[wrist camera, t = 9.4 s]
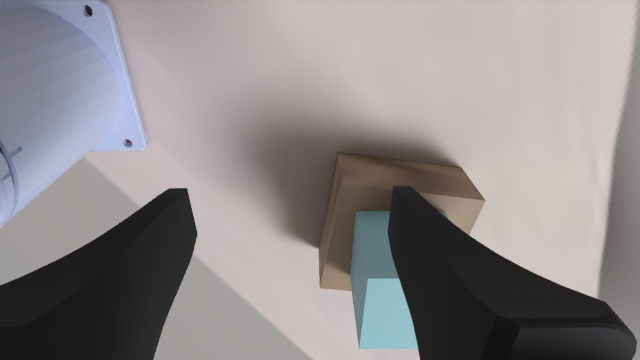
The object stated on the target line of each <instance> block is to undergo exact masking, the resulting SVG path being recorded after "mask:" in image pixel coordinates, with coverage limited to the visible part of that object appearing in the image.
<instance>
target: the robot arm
mask: <svg viewBox="0 0 640 360" xmlns="http://www.w3.org/2000/svg"><path fill="white" fill-rule="evenodd" d="M86 5H88V6H89V7H90V8H91V9H92V12H93V14H92V16H91V15H89V14H88V13H87V12H86V9H85V7H86ZM126 139H128V140H130V141H131V142H132V145H131V144H128V143H127V142H126ZM146 146H147V138H146V135H145V131H144V127H143V124H142V120H141V116H140V113H139V109H138V105H137V102H136V98H135V94H134V91H133V87H132V84H131V80H130V76H129V73H128V69H127V65H126V62H125V58H124V54H123V51H122V47H121V43H120V40H119V36H118V33H117V29H116V25H115V22H114V18H113V14H112V11H111V8H110V6H109V5H108V4H107V3H106V2H105V1H104V0H0V228H1V227H2V226H3V225H4V224H5V223H6V222H7V221H8V220H10V219H11V218H12V217H13V216H14V215H16V214H17V213H18V212H19V211H20V210H21V209H22V208H24V207H25V206H26V205H27V204H28V203H30V202H31V201H32V200H33V199H34V198H35V197H36V196H38V195H39V194H40V193H41V192H42V191H43V190H45V189H46V188H47V187H48V186H49V185H50V184H52V183H53V182H54V181H55V180H56V179H57V178H59V177H60V176H61V175H62V174H63V173H64V172H66V171H67V170H68V169H69V168H70V167H71V166H73V165H74V164H75V163H76V162H77V161H78V160H80V159H81V158H82V157H83V156H84V155H85V154H87V153H88V152H89V151H140V150H143V149H144V148H145V147H146ZM196 238H197V230H196V226H195V221H194V217H193V212H192V208H191V204H190V199H189V195H188V191H187V188H170V189H168V190H166V191H165V192H163V193H162V194H160V195H159V196H157V197H156V198H154V199H153V200H152V201H150V202H149V203H148V204H146V205H145V206H143V207H142V208H141V209H139V210H138V211H136V212H135V213H134V214H132V215H131V216H130V217H128V218H127V219H125V220H124V221H122V222H121V223H119V224H118V225H116V226H115V227H113V228H112V229H110V230H109V231H107V232H106V233H104V234H103V235H101V236H99V237H98V238H96V239H95V240H93V241H91V242H90V243H88V244H86V245H84V246H83V247H81V248H79V249H77V250H75V251H74V252H72V253H70V254H68V255H66V256H64V257H62V258H60V259H59V260H56V261H54V262H52V263H50V264H48V265H46V266H44V267H42V268H39V269H38V270H35V271H33V272H31V273H29V274H27V275H24V276H22V277H20V278H17V279H15V280H13V281H10V282H8V283H5V284H3V285H0V360H153V359H154V355H155V352H156V348H157V345H158V342H159V338H160V335H161V332H162V329H163V326H164V323H165V320H166V318H167V315H168V312H169V310H170V308H171V305H172V303H173V301H174V298H175V296H176V294H177V291H178V289H179V287H180V284H181V282H182V280H183V277H184V275H185V273H186V270H187V268H188V265H189V263H190V260H191V257H192V254H193V250H194V246H195V242H196ZM388 238H389V244H390V249H391V254H392V258H393V262H394V265H395V268H396V271H397V274H398V277H399V280H400V283H401V286H402V289H403V293H404V296H405V299H406V302H407V305H408V308H409V311H410V315H411V318H412V322H413V326H414V331H415V336H416V341H417V345H418V350H419V355H420V360H632V358H633V357H634V355H635V352H636V345H637V341H636V339H635V337H634V335H633V333H632V332H631V331H630V330H629V329H628V327H627V326H626V325H625V324H624V323H623V322H622V320H621V319H620V318H619V317H618V316H617V314H615V312H614V311H613V310H612V309H611V308H610V306H608V304H607V303H606V302H604V301H601V300H598V299H596V298H593V297H590V296H588V295H585V294H582V293H580V292H577V291H574V290H572V289H569V288H566V287H564V286H562V285H559V284H557V283H555V282H552V281H550V280H548V279H546V278H543V277H541V276H539V275H537V274H535V273H533V272H531V271H529V270H526V269H524V268H523V267H521V266H519V265H517V264H515V263H513V262H511V261H509V260H508V259H506V258H504V257H502V256H500V255H499V254H497V253H495V252H494V251H492V250H490V249H489V248H487V247H486V246H484V245H483V244H481V243H480V242H478V241H476V240H475V239H474V238H472V237H471V236H469V235H468V234H467V233H465V232H464V231H463V230H461V229H460V228H459V227H457V226H456V225H455V224H453V223H452V222H451V221H450V220H448V219H447V218H446V217H445V216H444V215H443V214H441V213H440V212H439V211H438V210H437V209H436V208H434V207H433V206H432V205H431V204H430V203H429V202H428V201H427V200H426V199H425V198H423V197H422V196H421V195H420V194H419V193H418V192H417V191H416V190H415V189H413V188H412V187H411V186H393V192H392V200H391V208H390V216H389V224H388Z"/></svg>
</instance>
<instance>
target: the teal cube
mask: <svg viewBox="0 0 640 360" xmlns="http://www.w3.org/2000/svg"><path fill="white" fill-rule="evenodd" d="M440 213H441V214H443V215H444V216H445V217H446V218H447V219H448V217H447V215H446V213H445V212H440ZM389 216H390V211H356V214H355V225H354V236H353V248H352V259H351V270H350V280H351V288H352V296H353V304H354V312H355V320H356V328H357V336H358V344H359V349H418V345H417V341H416V336H415V331H414V326H413V322H412V318H411V315H410V311H409V308H408V305H407V302H406V299H405V296H404V293H403V289H402V286H401V283H400V280H399V277H398V274H397V271H396V268H395V265H394V262H393V258H392V254H391V249H390V244H389V238H388V224H389ZM448 220H449V219H448Z"/></svg>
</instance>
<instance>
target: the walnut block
mask: <svg viewBox="0 0 640 360" xmlns="http://www.w3.org/2000/svg"><path fill="white" fill-rule="evenodd" d="M393 186H411V187H412V188H413V189H415V190H416V191H417V192H418V193H419V194H420V195H421V196H422V197H423V198H425V199H426V200H427V201H428V202H429V203H430V204H431V205H432V206H433V207H434V208H436V209H437V210H438V211H439V212H445V213H446V215H447V217H448V219H449V220H450V221H451V222H452V223H453V224H455V225H456V226H457V227H459V228H460V229H461V230H463V231H464V232H465V233H467V234H468V235H469V234H470V232H471V230H472V228H473V226H474V224H475V221H476V219H477V217H478V215H479V213H480V211H481V209H482V207H483V205H484V202H485V199H484V198H483V197H482V195H481V194H480V193H479V191H478V190H477V188H476V187H475V186H474V184H473V183H472V182H471V180H470V179H469V177H468V176H467V175H466V173H465V172H464V171H463V169H462V168H458V167H450V166H442V165H435V164H427V163H419V162H411V161H404V160H396V159H388V158H380V157H373V156H365V155H357V154H349V153H342V152H338V156H337V161H336V166H335V171H334V176H333V181H332V186H331V191H330V196H329V201H328V206H327V211H326V216H325V221H324V225H323V230H322V235H321V240H320V245H319V275H320V288H325V289H336V290H347V291H352V288H351V280H350V270H351V259H352V248H353V236H354V225H355V214H356V211H390V208H391V200H392V192H393Z"/></svg>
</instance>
